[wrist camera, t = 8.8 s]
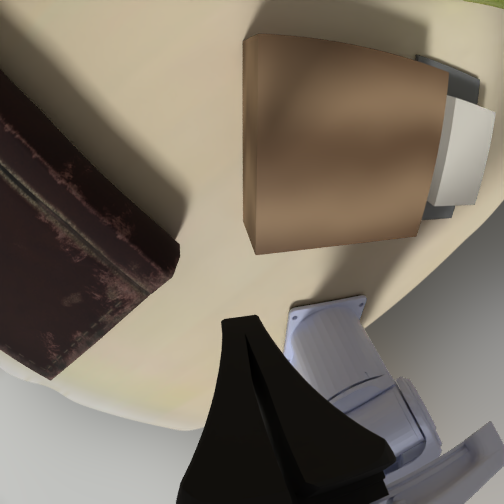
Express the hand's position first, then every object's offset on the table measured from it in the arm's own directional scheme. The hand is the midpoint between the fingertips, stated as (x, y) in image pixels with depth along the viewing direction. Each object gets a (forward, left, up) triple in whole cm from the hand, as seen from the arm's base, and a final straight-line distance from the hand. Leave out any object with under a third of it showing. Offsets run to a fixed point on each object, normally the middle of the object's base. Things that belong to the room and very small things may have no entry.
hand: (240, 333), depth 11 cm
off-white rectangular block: (+5, -20, -8) cm, 22 cm away
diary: (+3, +17, -11) cm, 21 cm away
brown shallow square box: (+5, -8, -10) cm, 14 cm away
